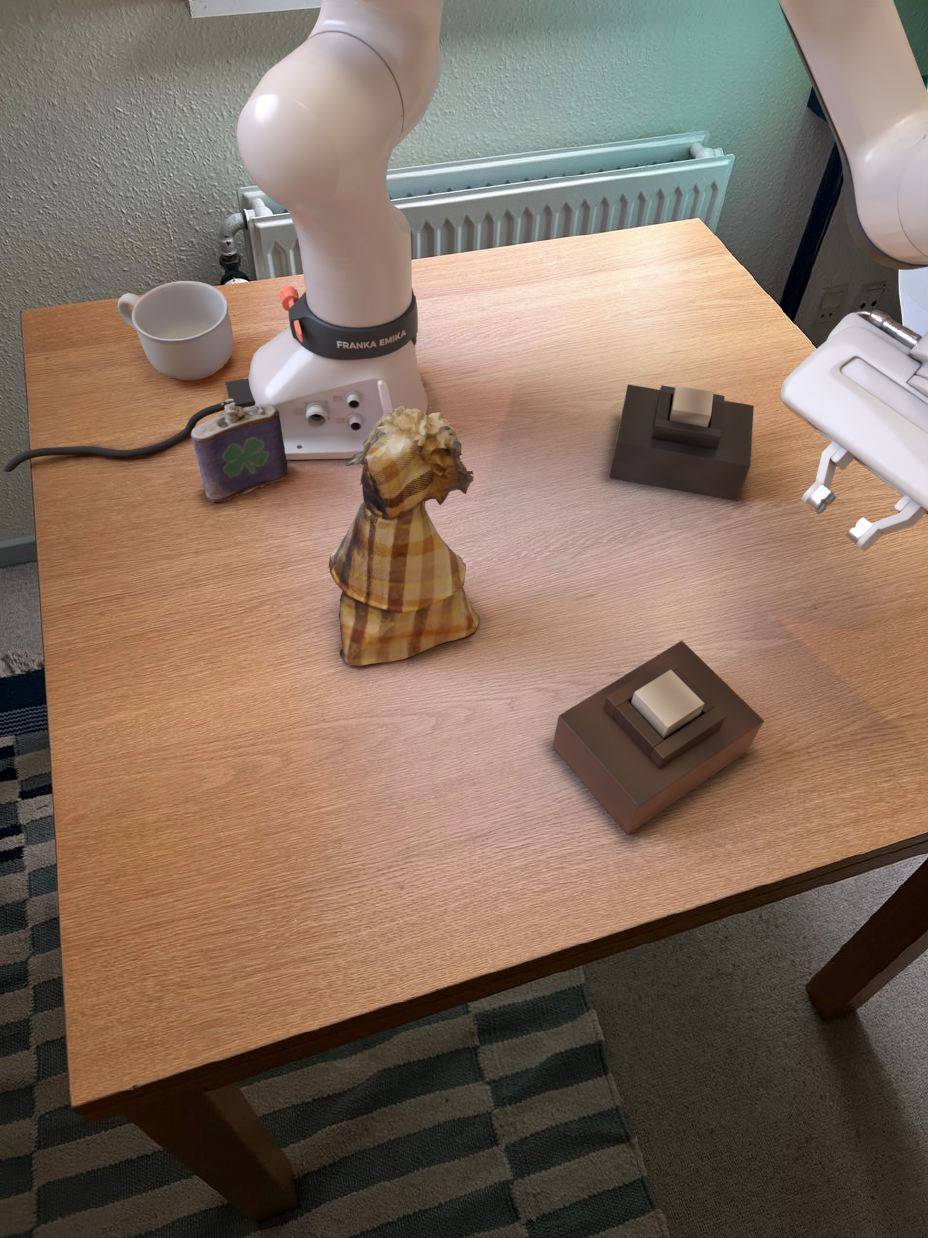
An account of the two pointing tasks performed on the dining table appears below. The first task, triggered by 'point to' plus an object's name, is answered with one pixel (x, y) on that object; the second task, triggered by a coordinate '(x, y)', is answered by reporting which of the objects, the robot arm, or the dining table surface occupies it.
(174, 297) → the teacup
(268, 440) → the flask
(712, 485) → the stepped block
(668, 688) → the key near
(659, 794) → the push button box
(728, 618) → the dining table surface
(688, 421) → the key far
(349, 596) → the plush toy
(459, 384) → the dining table surface
